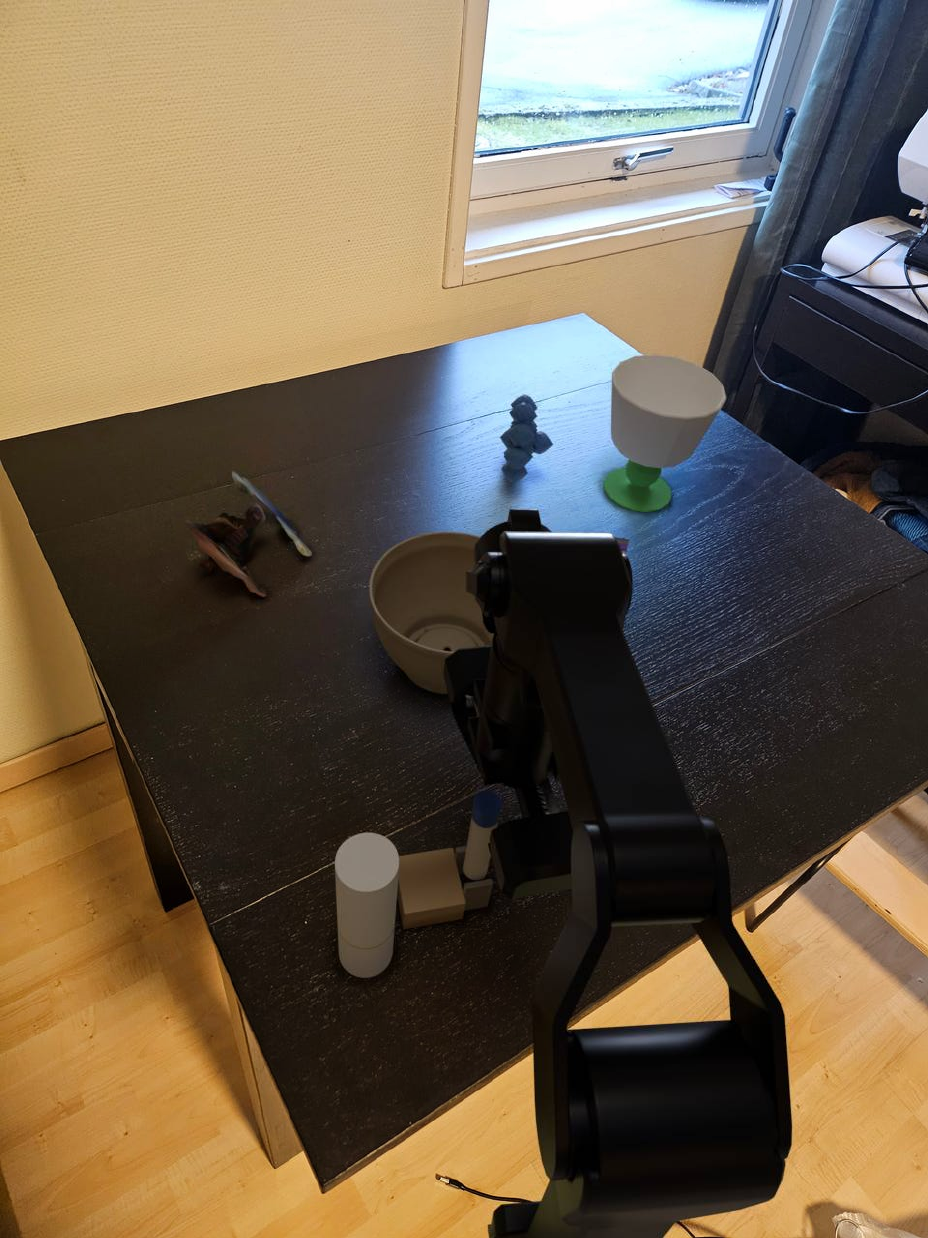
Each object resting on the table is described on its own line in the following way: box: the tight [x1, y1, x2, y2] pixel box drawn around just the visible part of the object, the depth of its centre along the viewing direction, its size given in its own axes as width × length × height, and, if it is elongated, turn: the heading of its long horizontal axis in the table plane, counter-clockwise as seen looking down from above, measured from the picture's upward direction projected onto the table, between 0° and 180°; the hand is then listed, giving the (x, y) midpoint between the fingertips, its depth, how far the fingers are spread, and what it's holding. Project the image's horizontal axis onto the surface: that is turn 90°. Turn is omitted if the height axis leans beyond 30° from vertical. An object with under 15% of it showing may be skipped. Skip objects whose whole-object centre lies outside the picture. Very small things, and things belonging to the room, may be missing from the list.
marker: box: [463, 789, 503, 881], centre depth 66 cm, size 2×10×2 cm
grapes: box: [499, 394, 554, 484], centre depth 107 cm, size 12×7×12 cm, turn 174°
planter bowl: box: [368, 531, 494, 695], centre depth 86 cm, size 16×16×11 cm
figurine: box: [184, 471, 313, 598], centre depth 95 cm, size 15×9×13 cm
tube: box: [334, 832, 400, 979], centre depth 63 cm, size 4×4×15 cm
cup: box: [603, 353, 727, 513], centre depth 107 cm, size 14×14×16 cm
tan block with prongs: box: [397, 845, 494, 930], centre depth 71 cm, size 5×7×4 cm
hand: (499, 820), depth 65 cm, fingers open, 9 cm apart
